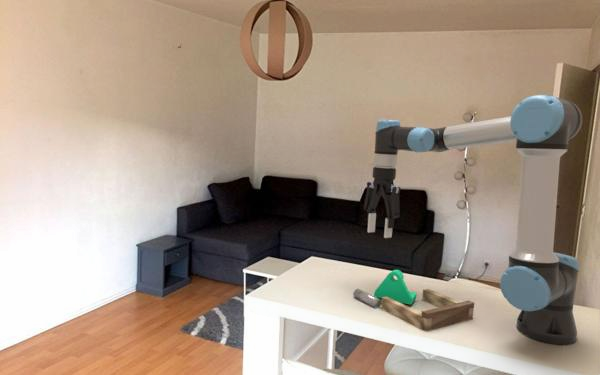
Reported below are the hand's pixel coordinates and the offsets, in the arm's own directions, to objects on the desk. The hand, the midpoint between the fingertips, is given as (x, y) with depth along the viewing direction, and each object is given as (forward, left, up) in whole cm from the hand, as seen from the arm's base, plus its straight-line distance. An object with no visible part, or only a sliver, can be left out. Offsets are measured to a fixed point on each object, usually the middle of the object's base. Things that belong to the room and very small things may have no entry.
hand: (379, 234), depth 161 cm
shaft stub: (-8, +11, -19) cm, 24 cm away
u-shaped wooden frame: (-23, 0, -19) cm, 30 cm away
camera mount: (-10, 0, -20) cm, 22 cm away
